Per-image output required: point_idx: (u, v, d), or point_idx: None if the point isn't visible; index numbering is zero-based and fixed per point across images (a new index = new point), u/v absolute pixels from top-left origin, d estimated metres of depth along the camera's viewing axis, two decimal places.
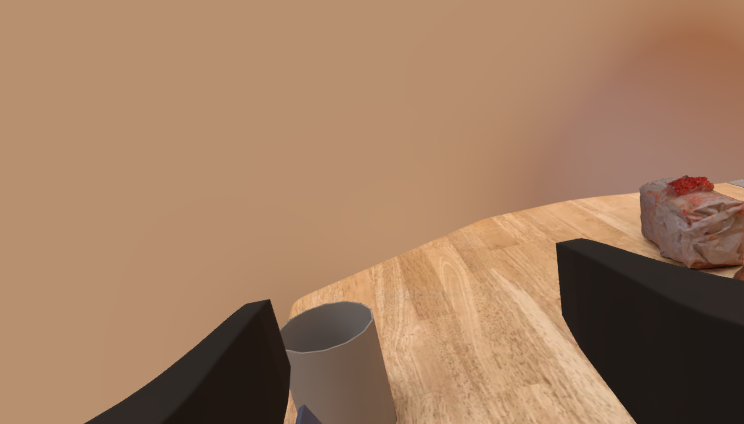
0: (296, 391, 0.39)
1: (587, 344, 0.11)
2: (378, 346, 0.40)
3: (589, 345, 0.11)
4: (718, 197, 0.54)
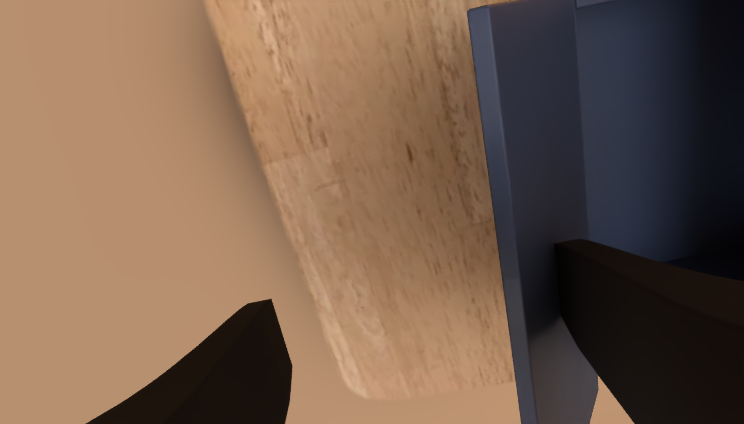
0: None
1: (585, 344, 0.11)
2: None
3: (587, 345, 0.11)
4: None
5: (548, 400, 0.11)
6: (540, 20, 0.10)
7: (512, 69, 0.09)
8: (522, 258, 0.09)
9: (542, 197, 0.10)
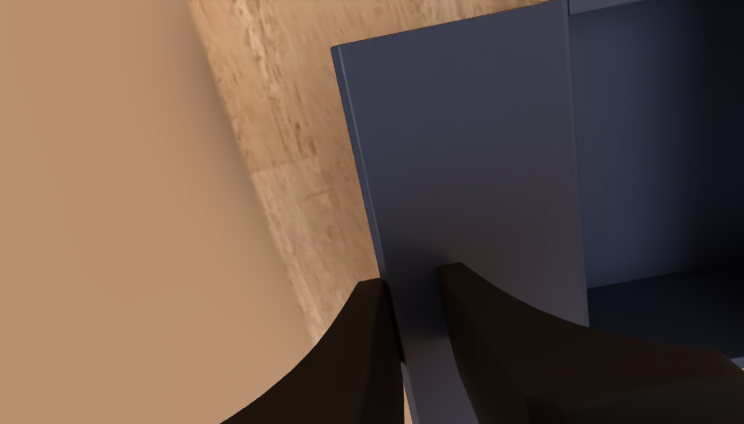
0: None
1: (459, 368, 0.11)
2: None
3: (460, 369, 0.11)
4: None
5: (440, 389, 0.12)
6: (460, 42, 0.11)
7: (385, 95, 0.10)
8: (394, 258, 0.11)
9: (447, 208, 0.11)
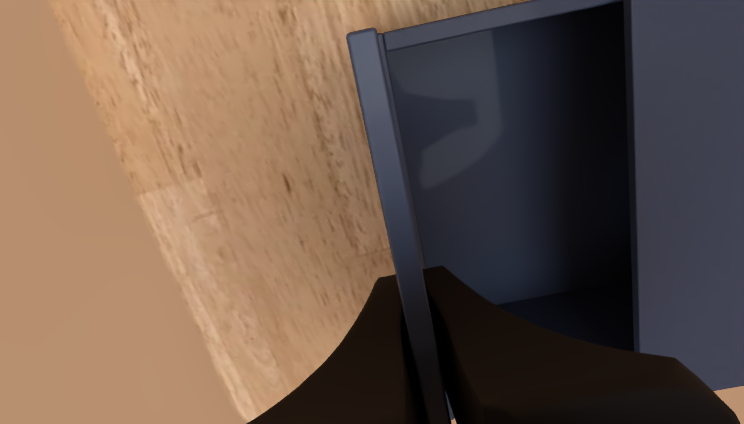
0: None
1: None
2: None
3: None
4: None
5: None
6: None
7: None
8: None
9: None
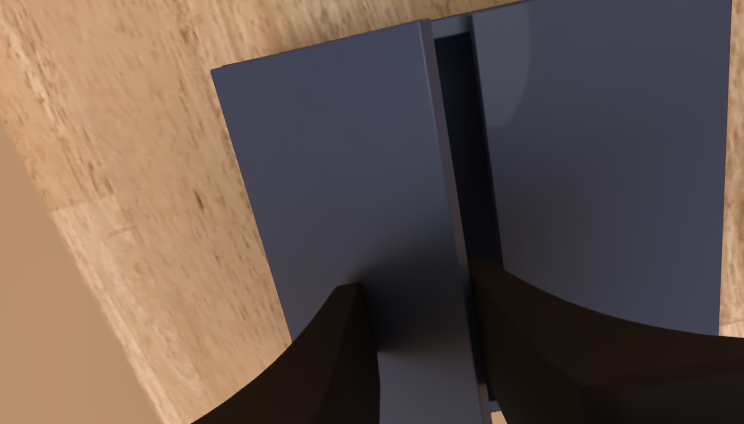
0: None
1: (483, 363, 0.11)
2: None
3: (485, 365, 0.11)
4: None
5: None
6: None
7: None
8: None
9: None
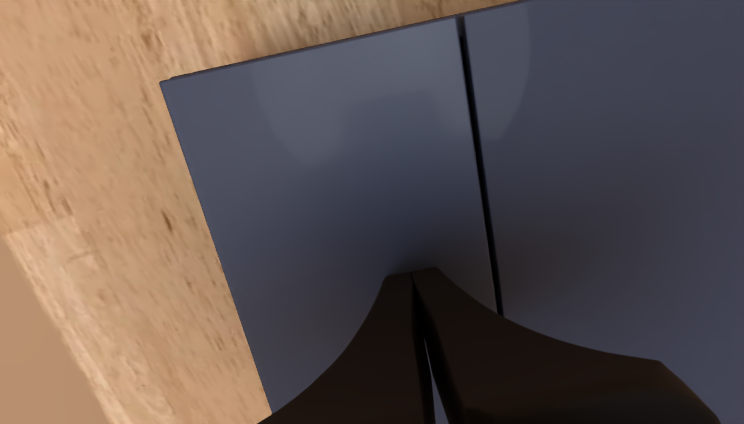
0: None
1: (433, 373, 0.11)
2: None
3: (434, 374, 0.11)
4: None
5: None
6: None
7: None
8: None
9: None
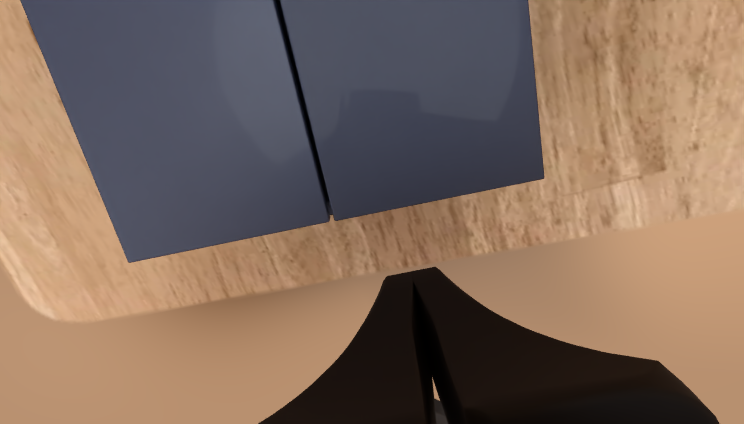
0: None
1: (432, 373, 0.11)
2: None
3: (433, 374, 0.11)
4: None
5: (267, 85, 0.13)
6: None
7: None
8: None
9: None
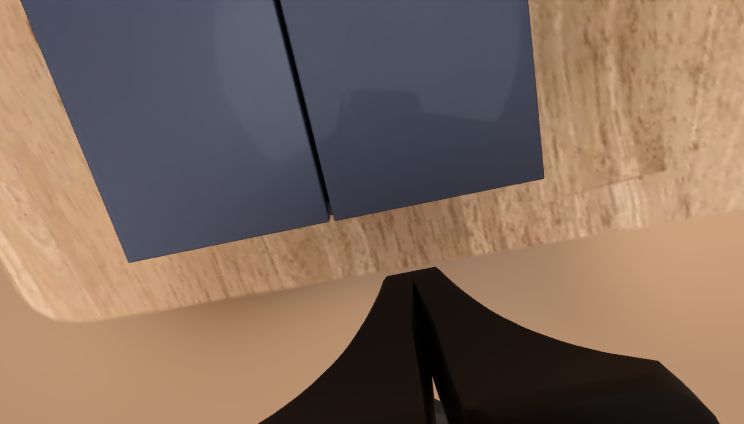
0: None
1: (432, 373, 0.11)
2: None
3: (433, 374, 0.11)
4: None
5: (267, 85, 0.13)
6: None
7: None
8: None
9: None
